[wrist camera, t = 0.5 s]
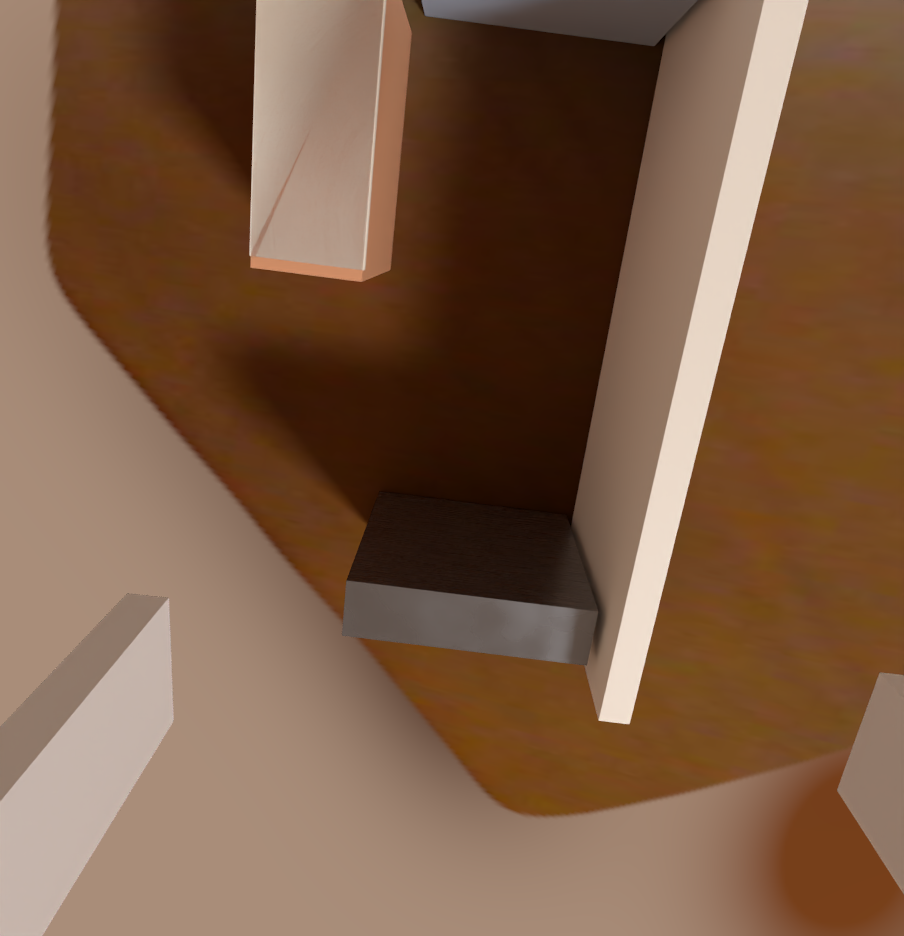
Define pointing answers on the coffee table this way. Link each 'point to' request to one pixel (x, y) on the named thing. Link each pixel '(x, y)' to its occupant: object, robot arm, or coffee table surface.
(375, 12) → the rust book
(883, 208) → the coffee table surface
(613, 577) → the white upright backboard
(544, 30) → the blue book
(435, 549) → the bookend
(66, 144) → the coffee table surface
